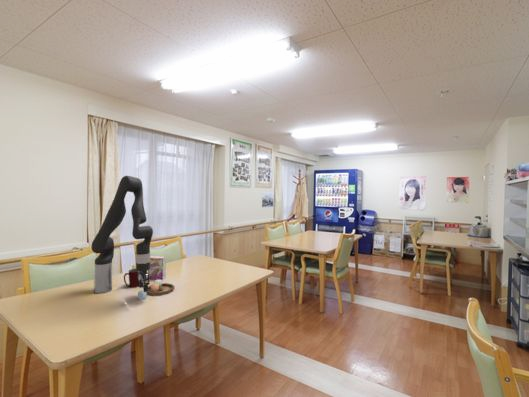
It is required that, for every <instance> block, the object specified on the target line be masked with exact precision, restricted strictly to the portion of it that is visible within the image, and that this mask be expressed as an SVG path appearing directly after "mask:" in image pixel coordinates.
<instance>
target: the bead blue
mask: <svg viewBox="0 0 529 397" xmlns="http://www.w3.org/2000/svg"><path fill="white" fill-rule="evenodd" d="M146 299H147V294H146V292H144V291H143V289H142V290H139V291H138V292H137V300H139V301H144V300H146Z"/></svg>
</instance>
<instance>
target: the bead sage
mask: <svg viewBox="0 0 529 397" xmlns="http://www.w3.org/2000/svg"><path fill="white" fill-rule="evenodd" d="M162 281H163V280H160V279H158V280H153V284H154V283H158V284H159V287H162V283H163V282H162Z"/></svg>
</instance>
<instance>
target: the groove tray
mask: <svg viewBox="0 0 529 397" xmlns="http://www.w3.org/2000/svg"><path fill="white" fill-rule="evenodd" d="M174 291H175V285H174V284H173V283H167V282H164V283H163V282H162V287H159V292H151V285H148V291H147V292H146V296H152V297H155V296H156V297H157V296H164V295H168V294H170V293H172V292H174Z"/></svg>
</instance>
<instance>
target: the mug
mask: <svg viewBox="0 0 529 397" xmlns="http://www.w3.org/2000/svg"><path fill="white" fill-rule="evenodd" d="M127 275H128V282H129V284H127V281H126V276H127ZM123 281H124V282H123V283H124V284H125V285H126V287H128V288H132V289H133V288H140V287H139V279H138V271H137V270H136V268H131V269H129V270H128V272H126V273H124V275H123Z"/></svg>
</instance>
